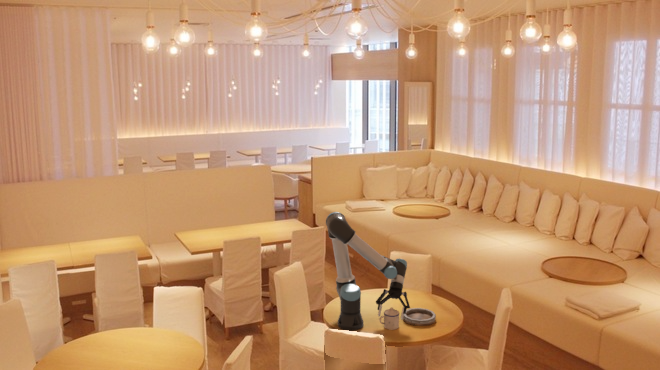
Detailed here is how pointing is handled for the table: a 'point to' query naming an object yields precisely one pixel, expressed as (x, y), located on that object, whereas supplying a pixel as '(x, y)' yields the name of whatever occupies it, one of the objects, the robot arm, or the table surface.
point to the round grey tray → (419, 317)
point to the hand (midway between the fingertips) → (390, 317)
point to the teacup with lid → (390, 319)
